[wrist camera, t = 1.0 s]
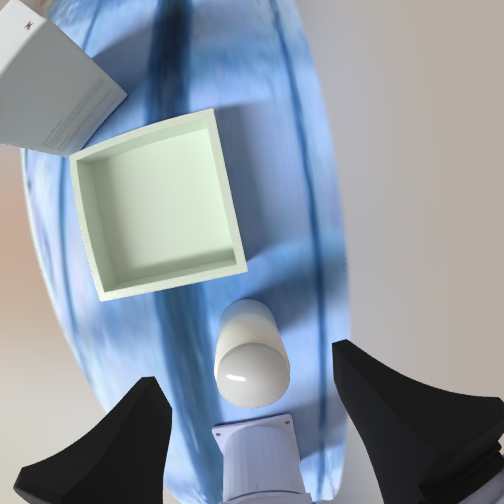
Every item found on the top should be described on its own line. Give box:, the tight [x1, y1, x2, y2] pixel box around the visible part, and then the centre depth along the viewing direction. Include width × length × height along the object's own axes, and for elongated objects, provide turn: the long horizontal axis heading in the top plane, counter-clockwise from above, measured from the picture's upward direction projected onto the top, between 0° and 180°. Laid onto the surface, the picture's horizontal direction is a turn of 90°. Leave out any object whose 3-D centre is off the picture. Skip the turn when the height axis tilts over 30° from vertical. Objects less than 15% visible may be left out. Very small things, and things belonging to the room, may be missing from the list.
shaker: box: [214, 299, 290, 408], centre depth 18 cm, size 4×4×8 cm
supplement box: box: [0, 0, 128, 158], centre depth 12 cm, size 7×7×13 cm
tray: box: [69, 108, 248, 302], centre depth 19 cm, size 11×11×3 cm
